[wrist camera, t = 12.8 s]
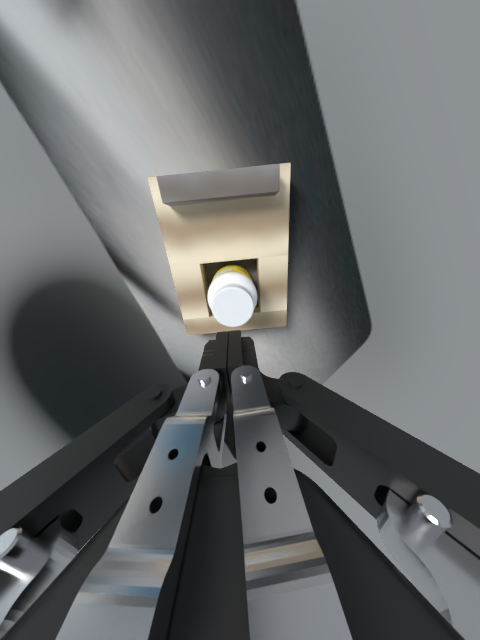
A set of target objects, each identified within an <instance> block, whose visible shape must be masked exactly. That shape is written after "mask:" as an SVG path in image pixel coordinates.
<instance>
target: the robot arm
mask: <svg viewBox="0 0 480 640" xmlns="http://www.w3.org/2000/svg"><path fill="white" fill-rule="evenodd" d="M232 400H233V407H234V413H233V415H234V429H235V442H236V454H237V463H234V464H232V465H230V466H227V467H224V468H222V463H221V461H222V449H223V441H224V433H225V425H226V406H227V403H230V402H232ZM147 428H149V429H150V431H149V432H148V433H147V434H146V435H145V436H143V437H142V438H141V439H140V440H139V441H138V442H137V443H136V444H134V445H133V446H132V447H131V448H130V449H129V450H128V451H126V452H125V453H124V454H123V455H122V456H120V457H119V458H116V457H117V455H118V454H119V453H120V452H121V451H122V450H123V449H124V448H125V447H127V446H128V445H129V444H130V443H131V442H132V441H133V440H134V439H136V438H137V437H138V436H139V435H140V434H142V433H143V432H144V431H145V430H146V429H147ZM283 435H285V436H286V437H287V438H288V439H289V440H290V441H291V442H292V443H293V444H294V445H296V447H298V448H299V449H300V450H301V451H302V452H303V453H304V454H305V455H306V456H307V457H309V458H310V459H311V460H312V461H313V462H314V463H315V464H316V465H317V466H318V467H319V468H321V469H322V470H323V471H324V472H325V473H326V474H327V475H328V476H329V477H330V478H332V479H333V480H334V481H335V482H336V483H337V484H338V485H339V486H340V487H341V488H342V489H344V490H345V491H346V492H347V493H348V494H349V495H350V496H351V497H352V498H354V499H355V500H356V501H357V502H358V503H359V504H360V505H361V506H362V507H363V508H365V510H367V511H368V512H369V513H370V514H371V515H372V516H373V517H374V518H375V519H377V526H378V529H379V533H380V536H381V538H382V540H383V543H384V544H385V546H386V548H387V550H388V551H389V553H390V554H391V555H392V557H393V558H394V559H395V560H396V562H397V563H398V564H399V565H400V566H401V567H402V569H403V570H404V571H405V572H406V574H407V575H408V576H409V578H410V579H411V581H412V582H413V584H414V585H415V586H414V585H413V584H412V583H411V582H410V581H409V580H408V579H407V578H406V577H405V576H404V575H403V574H402V573H401V572H400V571H399V570H398V569H397V568H396V567H395V565H394V564H392V563H391V561H390V560H389V559H388V558H387V557H386V556H385V555H384V554H383V553H382V552H381V551H380V550H379V549H378V548H377V547H376V546H375V544H374V543H373V542H372V541H371V540H370V539H369V538H368V537H367V536H366V535H365V534H364V533H363V532H362V531H361V530H360V529H359V528H358V527H357V526H356V525H355V524H354V523H353V521H352V520H351V519H350V518H349V517H348V516H347V515H346V514H345V513H344V512H343V511H342V510H341V509H340V508H339V507H338V506H337V505H336V504H335V502H333V500H332V499H331V498H330V497H329V496H328V495H327V494H326V493H325V492H324V491H323V490H322V489H321V488H320V487H319V486H318V485H317V484H316V483H315V482H314V481H312V480H311V479H310V478H309V477H307V476H306V475H305V474H303V473H302V472H300V471H298V470H296V469H294V468H293V466H292V462H291V459H290V457H289V453H288V450H287V447H286V444H285V441H284V438H283ZM115 458H116V459H115ZM107 520H108V521H107ZM106 521H107V522H106ZM105 522H106V523H105ZM104 523H105V524H104ZM98 530H99V531H98ZM97 531H98V532H97ZM96 532H97V533H96ZM95 533H96V534H95ZM94 534H95V535H94ZM93 535H94V536H93ZM92 536H93V537H92ZM91 537H92V538H91ZM90 538H91V539H90ZM89 539H90V541H89V542H88V543H87V541H88V540H89ZM86 543H87V544H86ZM85 544H86V545H85ZM84 545H85V546H84ZM83 546H84V547H83ZM82 547H83V548H82ZM81 548H82V549H81ZM80 549H81V551H80V552H79V553H78V554H77V552H78V551H79V550H80ZM0 640H480V474H479V473H477V472H475V471H474V470H472V469H470V468H468V467H467V466H465V465H463V464H461V463H459V462H458V461H456V460H454V459H452V458H451V457H449V456H447V455H445V454H443V453H442V452H440V451H438V450H436V449H435V448H433V447H431V446H429V445H427V444H426V443H424V442H422V441H420V440H419V439H417V438H415V437H413V436H411V435H410V434H408V433H406V432H404V431H402V430H401V429H399V428H397V427H395V426H394V425H392V424H390V423H388V422H387V421H385V420H383V419H381V418H379V417H378V416H376V415H374V414H372V413H371V412H369V411H367V410H365V409H363V408H362V407H360V406H358V405H356V404H355V403H353V402H351V401H349V400H347V399H346V398H344V397H342V396H340V395H339V394H337V393H335V392H333V391H331V390H330V389H328V388H326V387H324V386H323V385H321V384H319V383H317V382H316V381H314V380H312V379H310V378H308V377H307V376H305V375H303V374H300V373H297V372H288V373H285V374H283V375H282V376H281V377H280V378H279V379H275V378H270V377H267V376H265V375H263V374H262V373H261V372H260V370H259V368H258V363H257V358H256V352H255V347H254V341H253V340H252V339H251V338H250V337H241V330H232V331H222V332H217V335H216V340H209V341H208V343H207V344H206V345H205V347H204V352H203V356H202V359H201V363H200V367H199V371H198V372H196V373H195V374H194V375H193V376H192V377H191V379H190V381H189V383H188V384H187V385H185V386H182V387H179V388H176V389H173V390H172V389H171V387H170V386H169V385H168V384H164V383H162V384H161V383H160V384H156V385H153V386H151V387H149V388H147V389H146V390H145V391H143V392H142V393H140V394H139V395H137V396H136V397H134V398H133V399H132V400H130V401H129V402H128V403H126V404H124V405H123V406H122V407H120V408H119V409H117V410H116V411H114V412H113V413H112V414H110V415H109V416H107V417H106V418H105V419H103V420H102V421H100V422H99V423H97V424H96V425H94V426H93V427H92V428H90V429H89V430H87V431H86V432H84V433H83V434H82V435H80V436H79V437H77V438H76V439H74V440H73V441H72V442H70V443H69V444H67V445H66V446H65V447H63V448H62V449H60V450H59V451H57V452H56V453H54V454H53V455H52V456H50V457H49V458H47V459H46V460H44V461H43V462H42V463H40V464H39V465H37V466H36V467H34V468H33V469H31V470H30V471H29V472H27V473H26V474H24V475H23V476H21V477H20V478H19V479H17V480H16V481H14V482H13V483H12V484H10V485H9V486H7V487H6V488H4V489H3V490H1V491H0Z"/></svg>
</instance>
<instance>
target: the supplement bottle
mask: <svg viewBox="0 0 480 640" xmlns="http://www.w3.org/2000/svg"><path fill="white" fill-rule="evenodd" d="M207 299H208V304H209V307H210V309H211V310H212V314H213V316H214V317H215V319H216V320H217V321H218V322H219V323H221V324H223V325H225V326H228V327H237V326H241V325H243V324H245V323H246V322H247V321H248V320H249V319H250V318H251V316H252V314H253V311H254V308H255V306H256V303H257V291H256V288H255V285H254V283H253V281H252V279H251V276H250V274H249V273H248V271H247V270H246V269H245V268H243V267H242V266H240V265H236V264H229V265H225V266H223V267H222V268H220V269H219V270H218V271H217V272H216V274H215V276H214V278H213V280H212V282H211V285H210V287H209V290H208V295H207Z"/></svg>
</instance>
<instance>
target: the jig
mask: <svg viewBox="0 0 480 640" xmlns="http://www.w3.org/2000/svg"><path fill="white" fill-rule="evenodd" d="M290 164H291V163H284V164H273V165H263V166H254V167H244V168H234V169H225V170H215V171H205V172H196V173H186V174H177V175H167V176H157V177H149V178H148V181H149V185H150V189H151V193H152V197H153V201H154V205H155V209H156V213H157V217H158V221H159V225H160V229H161V233H162V237H163V241H164V245H165V248H166V252H167V256H168V260H169V264H170V268H171V272H172V276H173V280H174V284H175V288H176V292H177V296H178V300H179V304H180V308H181V312H182V316H183V320H184V324H185V328H186V332H187V335H198V334H209V333H217V332H222V331H232V330H252V329H262V328H273V327H284V326H286V317H287V279H288V240H289V202H290ZM254 258H256V272H257V293H258V304H257V305H256V306H255V308H254V311H253V314H252V316H251V318H250V319H249V320H248V321H247V322H246V323H245V324H243V325H241V326H237V327H228V326H225V325H223V324H221V323H219V322H218V321H217V320H216V319H215V317H214V316H213V314H212V310H211V309H210V307H209V304H208V299H207V295H208V285H207V279H206V273H205V267H204V263H213V262H223V261H233V260H243V259H254Z"/></svg>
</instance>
